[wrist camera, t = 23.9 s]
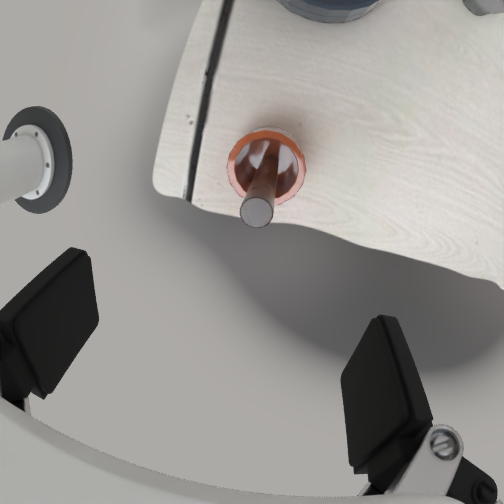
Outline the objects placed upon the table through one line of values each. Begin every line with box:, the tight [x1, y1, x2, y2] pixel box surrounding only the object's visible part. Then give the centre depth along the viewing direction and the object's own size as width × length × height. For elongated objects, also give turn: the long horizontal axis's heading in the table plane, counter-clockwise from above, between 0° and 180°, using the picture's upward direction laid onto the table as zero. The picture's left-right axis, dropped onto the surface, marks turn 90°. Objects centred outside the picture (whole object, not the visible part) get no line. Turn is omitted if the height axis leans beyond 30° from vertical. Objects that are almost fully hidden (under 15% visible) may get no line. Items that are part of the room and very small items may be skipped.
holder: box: [227, 127, 306, 205], centre depth 33 cm, size 8×8×7 cm
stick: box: [240, 155, 279, 228], centre depth 28 cm, size 2×2×18 cm
